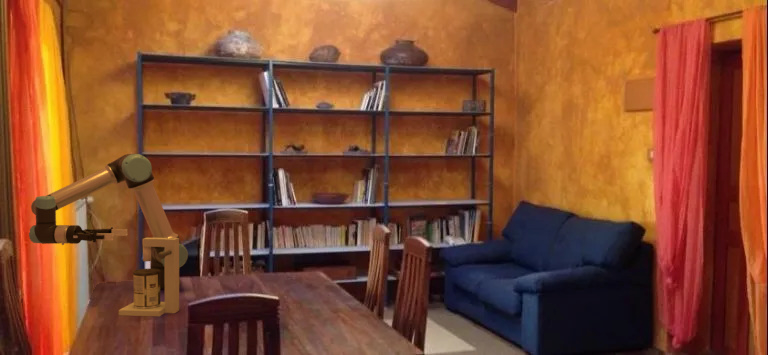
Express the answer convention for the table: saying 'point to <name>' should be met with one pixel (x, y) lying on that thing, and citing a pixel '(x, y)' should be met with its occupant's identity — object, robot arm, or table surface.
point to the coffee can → (146, 288)
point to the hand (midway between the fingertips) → (120, 234)
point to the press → (170, 277)
